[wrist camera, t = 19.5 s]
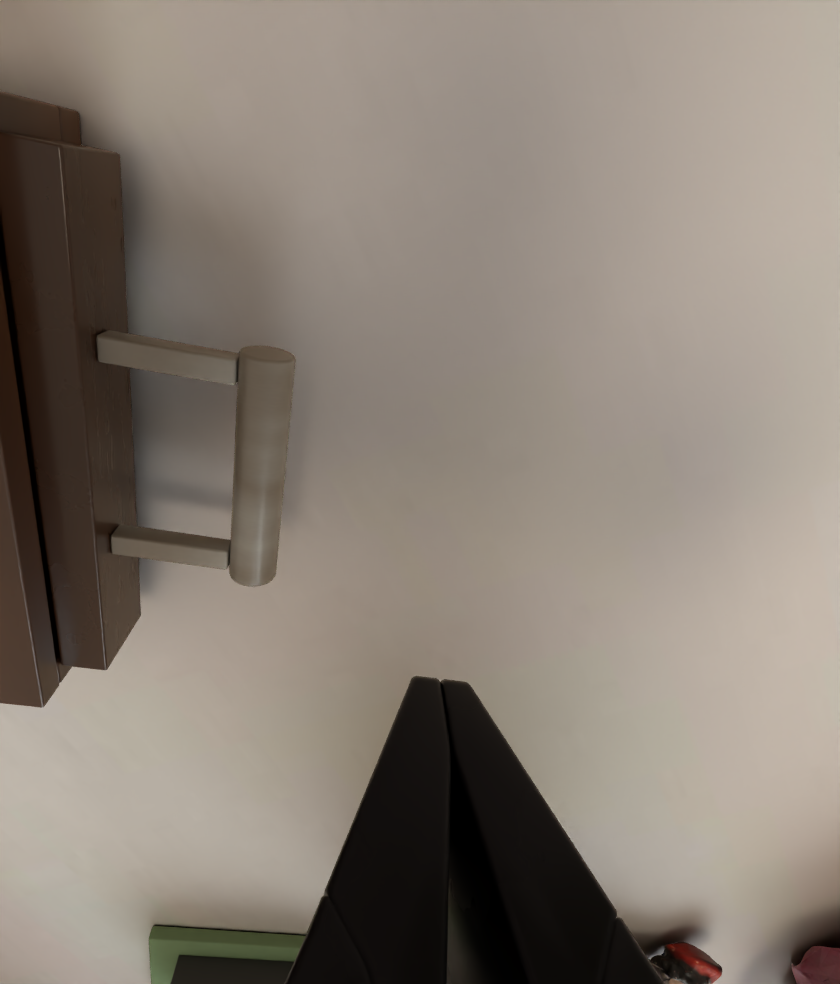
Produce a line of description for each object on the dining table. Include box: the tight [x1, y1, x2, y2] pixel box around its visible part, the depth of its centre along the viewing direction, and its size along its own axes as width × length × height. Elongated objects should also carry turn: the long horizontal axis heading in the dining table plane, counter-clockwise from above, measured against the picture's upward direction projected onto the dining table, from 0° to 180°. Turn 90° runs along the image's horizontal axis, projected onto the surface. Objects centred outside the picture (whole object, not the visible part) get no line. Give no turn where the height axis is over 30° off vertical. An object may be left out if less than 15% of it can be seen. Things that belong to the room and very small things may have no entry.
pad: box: [149, 926, 305, 984], centre depth 29 cm, size 9×6×1 cm, turn 79°
